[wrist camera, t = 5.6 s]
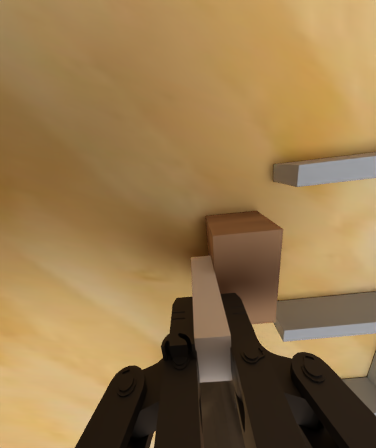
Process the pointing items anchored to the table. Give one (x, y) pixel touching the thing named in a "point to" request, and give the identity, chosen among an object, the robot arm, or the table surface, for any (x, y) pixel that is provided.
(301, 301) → the slot rack
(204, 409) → the beverage cup
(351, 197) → the table surface
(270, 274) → the walnut bar
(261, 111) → the table surface
